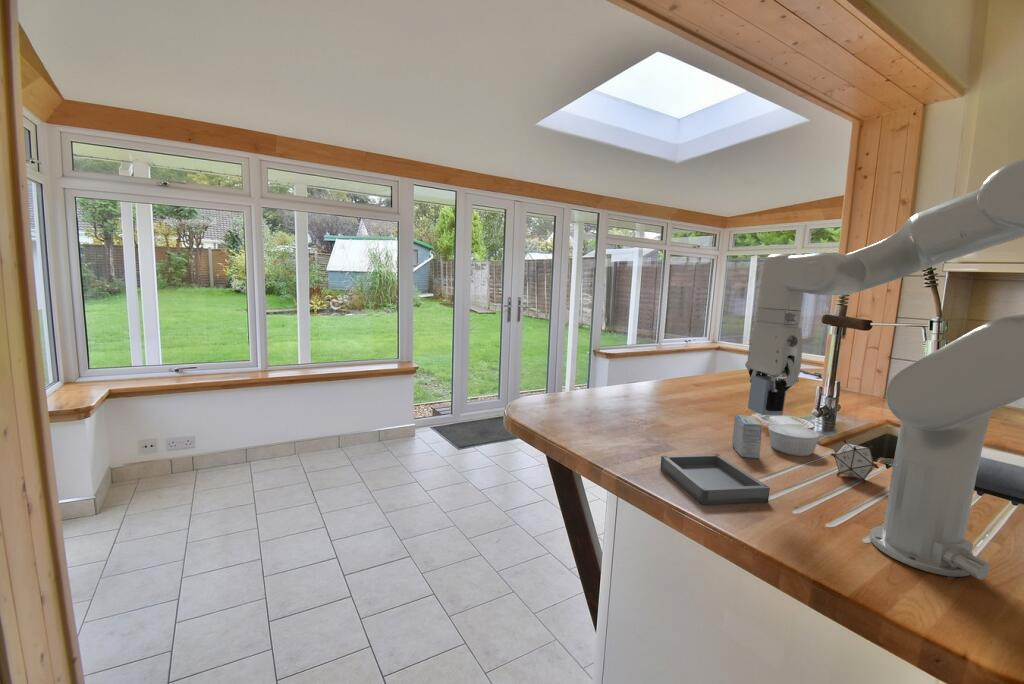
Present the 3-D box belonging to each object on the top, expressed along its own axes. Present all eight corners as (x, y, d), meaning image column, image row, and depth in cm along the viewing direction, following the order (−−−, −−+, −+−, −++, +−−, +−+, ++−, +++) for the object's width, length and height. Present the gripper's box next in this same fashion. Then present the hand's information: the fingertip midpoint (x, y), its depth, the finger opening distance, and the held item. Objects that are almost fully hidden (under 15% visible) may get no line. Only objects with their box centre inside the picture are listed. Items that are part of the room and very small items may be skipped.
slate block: (782, 415, 91) (787, 381, 90) (761, 415, 90) (766, 380, 89) (767, 408, 95) (772, 375, 94) (747, 408, 95) (752, 375, 94)
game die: (852, 497, 101) (853, 470, 95) (821, 469, 108) (820, 443, 102) (889, 478, 101) (891, 451, 95) (855, 452, 108) (856, 425, 102)
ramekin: (756, 444, 122) (759, 425, 121) (786, 440, 126) (789, 422, 125) (795, 460, 111) (798, 439, 111) (827, 455, 115) (829, 435, 115)
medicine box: (759, 459, 111) (763, 425, 110) (740, 457, 112) (743, 423, 111) (749, 447, 119) (753, 415, 118) (731, 446, 120) (734, 414, 118)
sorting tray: (768, 502, 89) (769, 487, 88) (702, 505, 87) (703, 490, 86) (716, 466, 106) (718, 454, 105) (660, 468, 103) (661, 455, 103)
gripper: (829, 323, 82) (813, 420, 85) (766, 314, 98) (755, 395, 101) (791, 322, 81) (776, 420, 84) (734, 313, 97) (724, 395, 100)
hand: (765, 405), depth 93 cm, fingers closed on slate block, 4 cm apart
